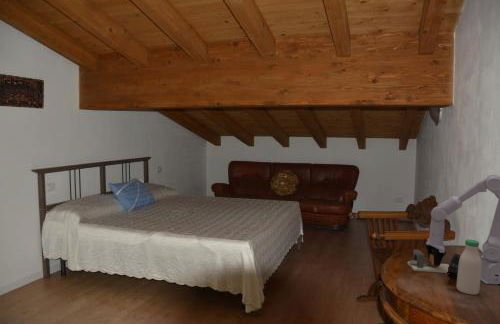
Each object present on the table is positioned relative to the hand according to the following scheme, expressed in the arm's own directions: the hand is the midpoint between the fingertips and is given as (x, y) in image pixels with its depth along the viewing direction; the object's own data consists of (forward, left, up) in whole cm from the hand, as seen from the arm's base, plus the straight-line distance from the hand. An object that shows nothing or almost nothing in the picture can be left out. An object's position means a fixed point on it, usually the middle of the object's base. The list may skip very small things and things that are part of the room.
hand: (434, 263), depth 172 cm
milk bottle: (-23, -4, -3) cm, 24 cm away
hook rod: (0, +4, -1) cm, 4 cm away
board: (0, +1, -2) cm, 3 cm away
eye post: (0, +7, -2) cm, 7 cm away
